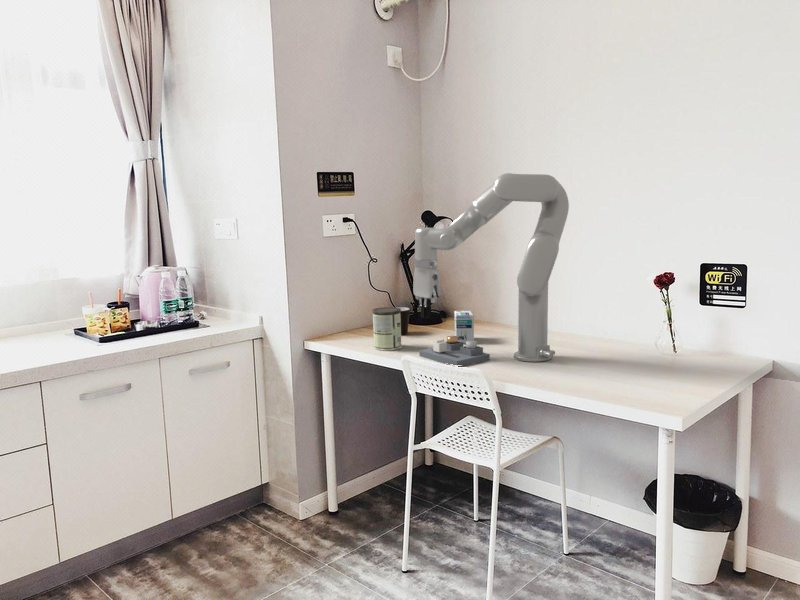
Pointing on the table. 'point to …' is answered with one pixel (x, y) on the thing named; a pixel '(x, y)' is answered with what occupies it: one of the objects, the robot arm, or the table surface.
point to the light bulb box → (464, 326)
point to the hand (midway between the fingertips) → (425, 317)
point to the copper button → (451, 339)
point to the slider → (439, 345)
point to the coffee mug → (404, 319)
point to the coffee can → (387, 328)
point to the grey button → (471, 344)
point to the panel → (456, 354)
